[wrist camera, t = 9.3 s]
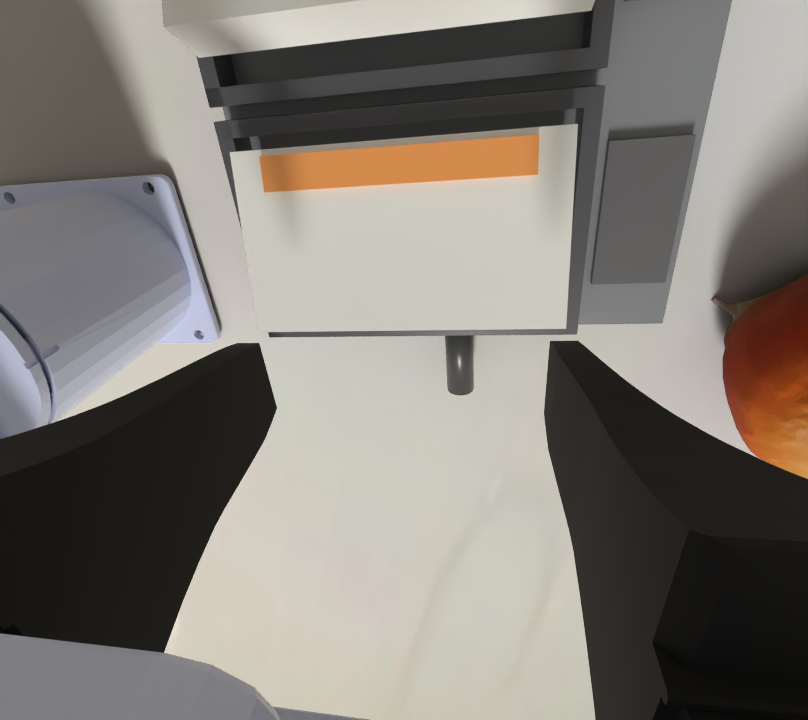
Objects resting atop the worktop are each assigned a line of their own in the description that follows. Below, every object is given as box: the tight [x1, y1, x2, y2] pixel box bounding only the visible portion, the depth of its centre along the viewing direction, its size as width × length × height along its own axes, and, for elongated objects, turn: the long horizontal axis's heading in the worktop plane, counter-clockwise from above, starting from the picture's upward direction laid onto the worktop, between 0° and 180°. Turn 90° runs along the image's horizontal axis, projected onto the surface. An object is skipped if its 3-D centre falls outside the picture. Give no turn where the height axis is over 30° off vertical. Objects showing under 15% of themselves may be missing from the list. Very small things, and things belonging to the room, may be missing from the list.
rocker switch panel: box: [197, 0, 732, 395], centre depth 14 cm, size 15×28×4 cm, turn 5°
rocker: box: [230, 124, 578, 332], centre depth 15 cm, size 10×6×2 cm, turn 95°
